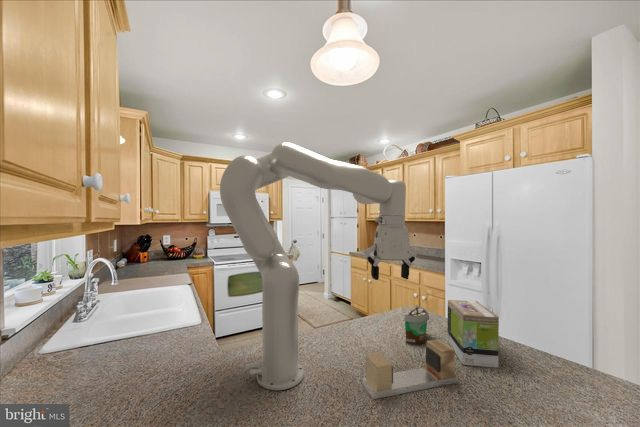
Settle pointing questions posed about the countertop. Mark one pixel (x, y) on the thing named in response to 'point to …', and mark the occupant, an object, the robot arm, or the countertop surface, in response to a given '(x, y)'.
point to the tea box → (473, 333)
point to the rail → (397, 378)
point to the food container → (416, 326)
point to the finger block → (440, 358)
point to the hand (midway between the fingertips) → (390, 278)
